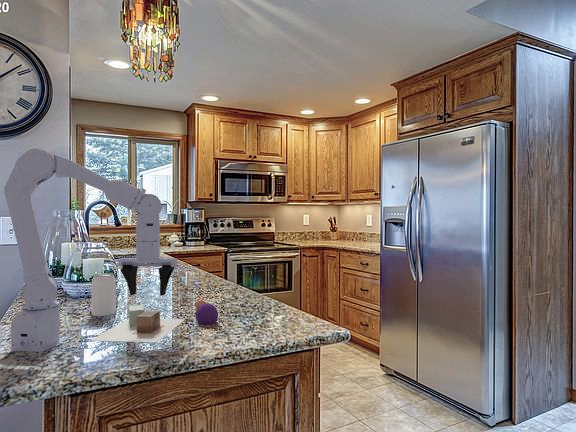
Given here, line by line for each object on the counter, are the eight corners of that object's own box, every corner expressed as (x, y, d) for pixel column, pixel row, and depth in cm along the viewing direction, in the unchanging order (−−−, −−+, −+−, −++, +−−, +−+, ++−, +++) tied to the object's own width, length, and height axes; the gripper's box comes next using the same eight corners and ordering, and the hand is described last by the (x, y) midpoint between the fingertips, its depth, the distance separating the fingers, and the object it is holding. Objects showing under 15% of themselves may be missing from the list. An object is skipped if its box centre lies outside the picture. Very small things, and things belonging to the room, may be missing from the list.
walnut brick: (151, 332, 100) (151, 316, 100) (136, 332, 100) (136, 316, 100) (160, 326, 106) (160, 310, 106) (146, 325, 106) (146, 310, 106)
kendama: (212, 297, 127) (221, 306, 108) (209, 316, 126) (217, 329, 107) (193, 294, 125) (198, 303, 106) (189, 314, 125) (194, 326, 106)
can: (106, 318, 115) (106, 276, 115) (86, 317, 117) (86, 275, 117) (120, 313, 122) (120, 273, 122) (101, 312, 123) (101, 272, 123)
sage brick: (144, 324, 107) (144, 309, 107) (129, 326, 106) (129, 310, 106) (142, 319, 113) (142, 304, 113) (128, 320, 111) (128, 306, 111)
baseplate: (157, 344, 93) (157, 341, 93) (89, 343, 94) (89, 340, 94) (185, 321, 113) (185, 318, 113) (129, 320, 114) (129, 317, 114)
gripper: (112, 242, 99) (112, 297, 99) (171, 242, 99) (171, 298, 99) (125, 240, 106) (125, 292, 106) (179, 240, 106) (179, 292, 106)
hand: (147, 294), depth 103 cm, fingers open, 7 cm apart
